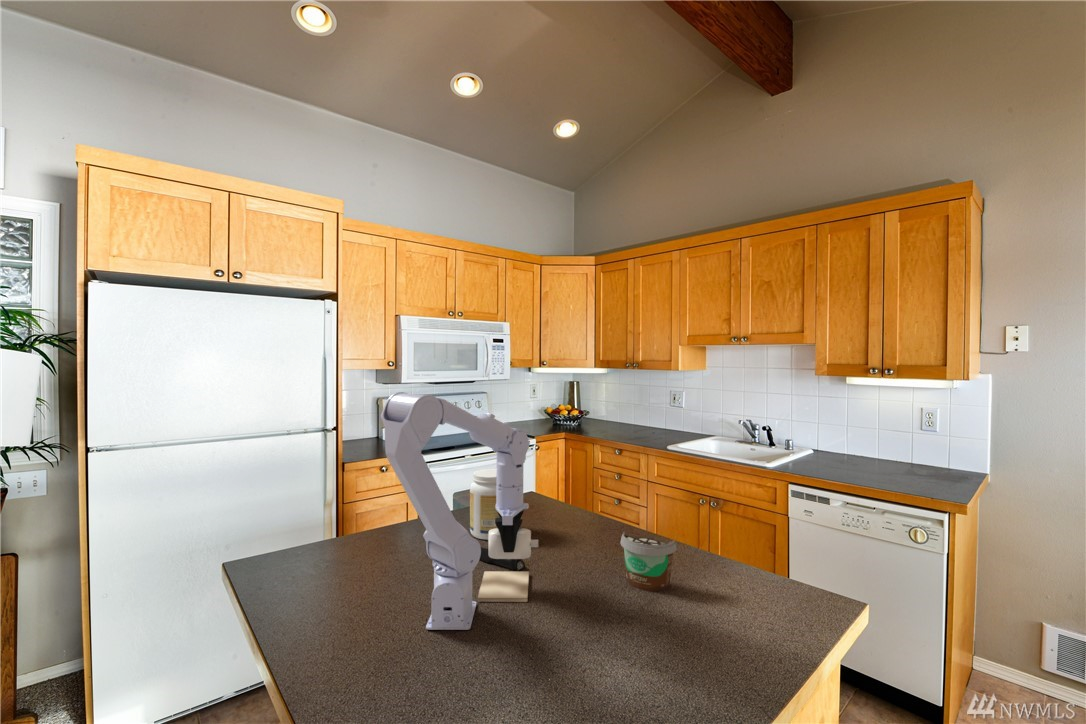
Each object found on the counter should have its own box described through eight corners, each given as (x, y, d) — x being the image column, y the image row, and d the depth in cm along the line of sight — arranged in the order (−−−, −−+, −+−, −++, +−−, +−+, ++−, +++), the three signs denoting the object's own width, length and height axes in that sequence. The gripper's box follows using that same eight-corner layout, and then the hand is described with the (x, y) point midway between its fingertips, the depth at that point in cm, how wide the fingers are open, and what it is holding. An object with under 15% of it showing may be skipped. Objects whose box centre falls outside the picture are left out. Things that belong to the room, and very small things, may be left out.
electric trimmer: (477, 554, 123) (476, 541, 123) (526, 569, 114) (526, 555, 114) (466, 559, 120) (466, 546, 120) (516, 575, 111) (516, 561, 111)
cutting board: (527, 601, 98) (527, 597, 98) (477, 601, 98) (477, 597, 98) (528, 575, 110) (528, 571, 110) (484, 574, 110) (484, 571, 110)
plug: (538, 551, 106) (538, 528, 106) (538, 559, 102) (538, 535, 102) (489, 551, 106) (489, 528, 106) (487, 558, 102) (487, 535, 102)
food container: (612, 585, 106) (612, 539, 105) (621, 574, 111) (621, 530, 111) (669, 599, 100) (670, 550, 100) (676, 586, 105) (676, 540, 105)
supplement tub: (522, 530, 138) (522, 471, 138) (495, 544, 128) (496, 480, 128) (488, 522, 145) (488, 465, 145) (460, 535, 134) (460, 474, 134)
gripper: (527, 493, 97) (527, 561, 97) (529, 475, 111) (529, 535, 112) (492, 493, 97) (491, 561, 97) (498, 475, 111) (498, 534, 111)
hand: (509, 547), depth 104 cm, fingers closed on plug, 4 cm apart
